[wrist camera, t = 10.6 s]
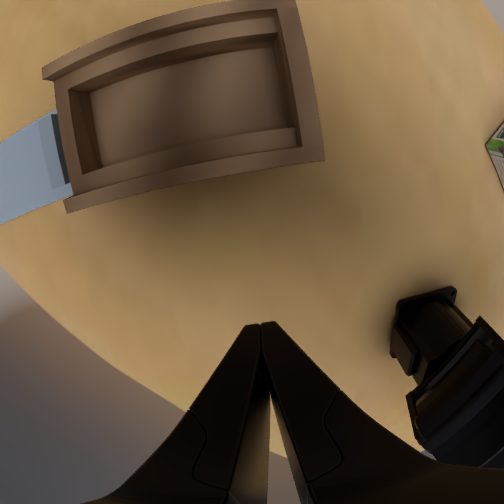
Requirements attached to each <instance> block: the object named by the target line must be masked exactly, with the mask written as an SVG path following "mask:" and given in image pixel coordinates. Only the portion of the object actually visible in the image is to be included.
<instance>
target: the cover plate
mask: <svg viewBox="0 0 504 504" xmlns="http://www.w3.org/2000/svg"><path fill="white" fill-rule="evenodd" d="M70 195H73V191H72V187H71V183H70V179H69V175H68V170H67V166H66V161H65V156H64V151H63V146H62V140H61V134H60V128H59V122H58V115H57V109H55V110H54V111H52V112H50V113H48V114H46V115H44V116H43V117H41V118H39V119H37V120H36V121H34V122H32V123H31V124H29V125H27V126H26V127H24V128H23V129H21V130H19V131H18V132H16V133H15V134H13V135H12V136H10V137H9V138H7V139H6V140H4V141H3V142H1V143H0V225H1V224H3V223H5V222H7V221H10V220H12V219H14V218H16V217H18V216H21V215H23V214H25V213H28V212H30V211H32V210H35V209H37V208H40V207H42V206H45V205H47V204H50V203H52V202H55V201H57V200H60V199H62V198H65V197H68V196H70Z"/></svg>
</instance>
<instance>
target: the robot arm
mask: <svg viewBox="0 0 504 504" xmlns="http://www.w3.org/2000/svg"><path fill="white" fill-rule="evenodd" d="M451 292H452V293H451ZM456 293H457V290H456V288H454V287H453V286H451V287H448V288H444V289H441V290H437V291H434V292H430V293H427V294H423V295H419V296H415V297H411V298H407V299H404V300H401V301H399V303H398V304H397V309H396V317H395V324H394V325H393V330H392V336H391V343H390V347H391V350H390V355H391V357H392V358H397V360H398V361H399V363H400V365H401V366H402V368H403V370H404V372H405V374H406V375H407V376H411V375H412V376H413V378H414V380H415V382H416V383H417V385H418V386H417V387H416V388H415V389H414V390H413V391H410V392H409V393H408V394H407V395H406V400H407V405H408V409H409V414H410V418H411V423H412V427H413V432H414V437H415V439H416V440H417V441H418V443H419V445H421V446H422V447H423V448H424V449H425V450H426V451H428V452H429V453H431V454H433V456H434V457H435V458H436V460H437V461H436V460H434V459H431V458H429V457H427V456H425V455H423V454H422V453H420V452H419V451H417V450H416V449H414V448H413V447H411V446H410V445H408V444H407V443H406V442H404V441H403V440H401V439H400V438H398V437H397V436H396V435H394V434H393V433H391V432H390V431H389V430H387V429H386V428H384V427H383V426H382V425H380V424H379V423H378V422H376V421H375V420H374V419H373V418H371V417H370V416H369V415H367V414H366V413H365V412H364V411H363V410H362V409H360V408H359V407H358V406H357V405H356V404H355V403H354V402H353V401H352V400H351V399H350V398H349V397H348V396H347V395H346V394H345V393H344V392H343V391H342V390H340V388H339V387H338V386H337V385H336V384H335V383H334V382H333V381H332V380H331V379H330V378H329V377H328V376H327V375H326V374H325V373H324V372H323V371H322V370H321V369H320V368H319V367H318V366H317V365H316V364H315V363H314V362H313V361H312V359H311V358H310V357H309V356H308V355H307V354H306V353H305V352H304V351H303V350H302V349H301V348H300V347H299V346H298V345H297V344H296V343H295V342H294V341H293V340H292V338H291V337H290V336H289V335H288V334H287V333H286V332H285V331H284V330H283V329H282V328H281V327H280V326H279V325H278V324H277V323H276V322H275V321H270V322H264V323H261V325H260V324H250V325H245V326H244V327H243V329H242V330H241V332H240V334H239V335H238V337H237V338H236V340H235V341H234V343H233V344H232V346H231V347H230V349H229V350H228V352H227V353H226V355H225V356H224V358H223V359H222V361H221V362H220V364H219V365H218V367H217V368H216V370H215V371H214V373H213V374H212V376H211V377H210V379H209V380H208V382H207V383H206V384H205V386H204V387H203V389H202V390H201V392H200V393H199V395H198V396H197V398H196V399H195V401H194V402H193V403H192V405H191V406H190V408H189V409H190V410H187V412H186V413H185V415H184V416H183V418H182V419H181V420H180V422H179V423H178V425H177V426H176V427H175V428H174V430H173V431H172V432H171V433H170V435H169V436H168V437H167V438H166V439H165V441H164V442H163V443H162V444H161V445H160V446H159V447H158V449H157V450H156V451H155V452H154V453H153V454H152V455H151V456H150V457H149V458H148V459H147V460H146V461H145V462H144V463H143V464H142V465H141V466H140V467H139V468H138V469H137V470H136V471H135V473H133V474H132V475H131V476H130V477H129V478H128V480H127V481H126V482H125V483H123V484H122V485H121V486H120V487H119V488H117V489H116V490H115V491H113V492H112V493H110V494H108V495H107V496H104V497H102V498H100V499H97V500H93V501H89V502H86V503H82V504H267V492H268V467H269V439H270V395H271V399H272V404H273V407H274V411H275V415H276V418H277V422H278V426H279V429H280V433H281V436H282V440H283V444H284V447H285V451H286V454H287V458H288V461H289V465H290V468H291V471H292V475H293V479H294V482H295V485H296V489H297V492H298V495H299V499H300V502H301V504H504V340H503V339H502V338H501V337H500V336H499V335H498V334H497V333H496V332H495V331H494V330H493V328H492V327H491V326H490V325H489V324H488V323H487V322H486V321H485V320H484V319H483V318H482V317H481V316H480V315H479V317H478V318H477V319H476V322H475V324H474V325H473V323H472V322H471V321H470V320H469V319H468V318H467V317H466V316H465V315H464V314H463V313H462V312H461V311H460V310H459V309H458V308H457V307H456V306H455V305H454V303H455V298H456ZM403 305H404V306H403ZM402 306H403V307H402Z"/></svg>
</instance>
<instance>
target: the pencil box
mask: <svg viewBox="0 0 504 504" xmlns="http://www.w3.org/2000/svg"><path fill="white" fill-rule="evenodd" d="M42 77H43V80H49V81H54V89H55V98H56V107H57V115H58V122H59V128H60V134H61V140H62V146H63V151H64V156H65V161H66V166H67V170H68V175H69V179H70V183H71V187H72V191H73V196H71V197H69V198H67V199H65V200H63V202H64V206H65V209H66V213H67V214H68V213H71V212H74V211H78V210H81V209H84V208H88V207H91V206H95V205H98V204H102V203H106V202H109V201H113V200H117V199H121V198H125V197H128V196H132V195H136V194H141V193H145V192H149V191H153V190H157V189H162V188H166V187H171V186H175V185H180V184H185V183H189V182H194V181H199V180H204V179H210V178H215V177H220V176H226V175H231V174H237V173H243V172H249V171H255V170H262V169H268V168H275V167H282V166H289V165H297V164H305V163H313V162H322V161H325V157H324V149H323V141H322V134H321V127H320V120H319V113H318V107H317V101H316V95H315V89H314V83H313V78H312V73H311V67H310V62H309V57H308V52H307V48H306V43H305V39H304V34H303V30H302V25H301V21H300V17H299V13H298V9H297V5H296V1H295V0H233V1H227V2H221V3H215V4H209V5H204V6H199V7H195V8H190V9H186V10H182V11H178V12H174V13H170V14H167V15H163V16H160V17H156V18H153V19H150V20H147V21H144V22H141V23H138V24H135V25H132V26H129V27H126V28H124V29H121V30H118V31H116V32H113V33H111V34H108V35H106V36H104V37H101V38H99V39H97V40H94V41H92V42H90V43H88V44H86V45H84V46H82V47H80V48H77V49H75V50H73V51H71V52H70V53H68V54H66V55H64V56H62V57H60V58H58V59H56V60H55V61H53V62H51V63H49V64H48V65H46V66H44V67H42Z"/></svg>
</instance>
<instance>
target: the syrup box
mask: <svg viewBox="0 0 504 504" xmlns="http://www.w3.org/2000/svg"><path fill="white" fill-rule="evenodd" d="M486 147H487V149H488V152H489V154H490V156H491V159H492V161H493V163H494V166H495V168H496V171H497V173H498V176H499V178H500V181H501V183H502V186H503V188H504V123H503V124H502V125H501V127H500V128H499V129H498V131H497V132H496V133H495V134H494V136H493V137H492V138H491V140H490V141H489V142H488V143H487V145H486Z"/></svg>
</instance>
